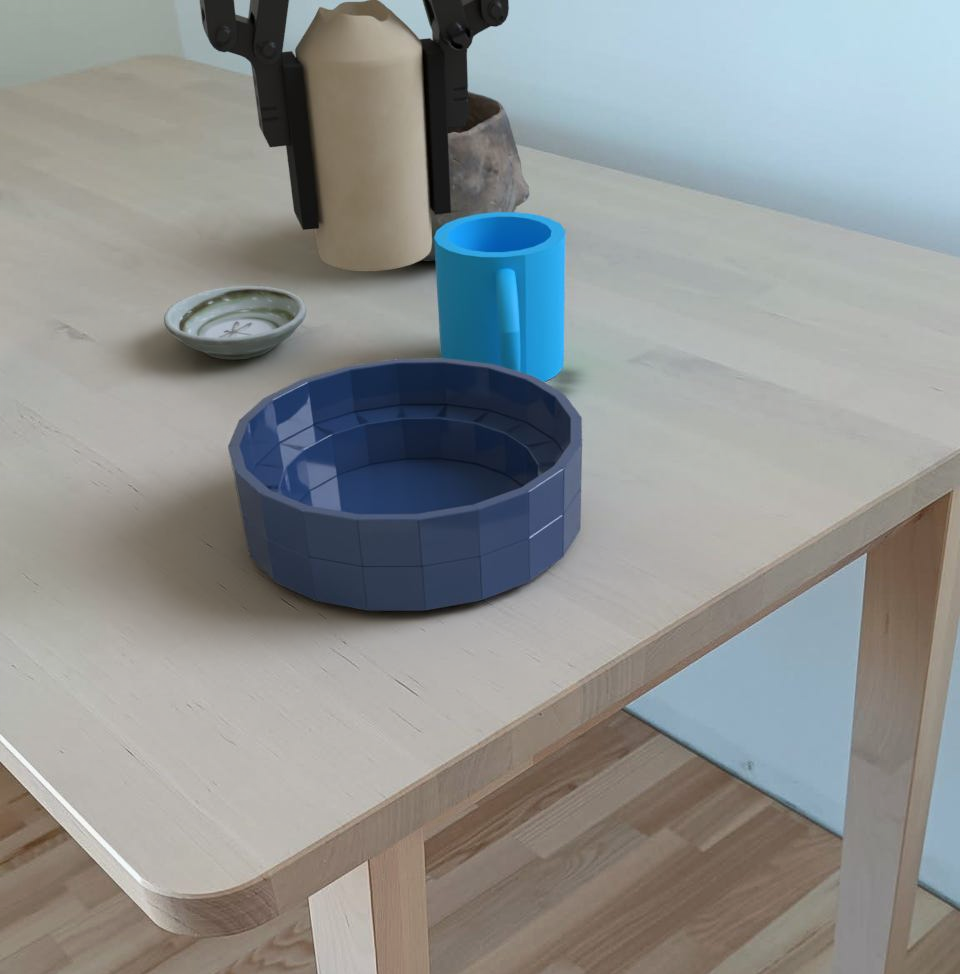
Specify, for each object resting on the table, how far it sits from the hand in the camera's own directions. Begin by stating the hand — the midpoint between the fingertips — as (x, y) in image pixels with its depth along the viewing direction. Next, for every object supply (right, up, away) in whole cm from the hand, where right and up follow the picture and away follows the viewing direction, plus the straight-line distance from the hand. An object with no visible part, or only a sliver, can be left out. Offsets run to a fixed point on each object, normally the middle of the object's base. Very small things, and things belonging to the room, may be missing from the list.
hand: (371, 211), depth 60 cm
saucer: (-12, +5, +29) cm, 31 cm away
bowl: (+1, +18, +41) cm, 45 cm away
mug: (+7, +1, +24) cm, 25 cm away
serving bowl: (+1, -12, +10) cm, 16 cm away
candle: (0, -2, +1) cm, 2 cm away
